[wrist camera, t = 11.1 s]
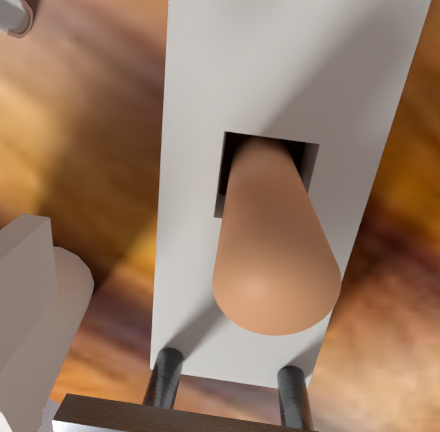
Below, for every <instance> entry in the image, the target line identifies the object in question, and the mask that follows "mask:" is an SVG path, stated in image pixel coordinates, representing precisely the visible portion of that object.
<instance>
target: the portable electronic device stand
mask: <svg viewBox="0 0 440 432" xmlns="http://www.w3.org/2000/svg"><path fill="white" fill-rule="evenodd" d="M32 23H33V11H32V9H31V8H30V6H29V5H28V4H27V2H26V1H25V0H0V31H2V32H3V33H5V34H7V35H10V36H12V37H15V38H23V37H25V36H26V35H27V34H28V32H29V31H30V29H31V26H32Z"/></svg>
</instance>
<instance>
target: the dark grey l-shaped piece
mask: <svg viewBox="0 0 440 432" xmlns="http://www.w3.org/2000/svg"><path fill="white" fill-rule="evenodd" d="M183 361H184V357H183V354H182V353H181V352H180V351H179V350H177V349H175V348H170V347H168V348H163V349H161V350H160V351H159V352H158V355H157V358H156V361H155V364H154V368H153V371H152V374H151V377H150V380H149V384H148V387H147V390H146V393H145V397H144V400H143V403H142V405H140V404H133V403H127V402H120V401H114V400H107V399H101V398H94V397H87V396H81V395H74V394H68V393H67V394H66V396H65V398H64V400H63V401H62V403H61V405H60V407H59V409H58V411H57V412H56V414H55V416H54V418H53V420H52V422H53V430H54V432H318V431H314V427H313V421H312V416H311V410H310V404H309V398H308V393H307V387H306V381H305V376H304V372H303V371H302V369H300V368H299V367H296V366H285V367H283V368H281V369H280V370H279V371H278V373H277V382H278V393H279V404H280V416H281V426H278V425H272V424H265V423H258V422H252V421H245V420H239V419H232V418H226V417H219V416H212V415H206V414H199V413H193V412H186V411H180V410H173V408H174V403H175V398H176V394H177V389H178V385H179V380H180V375H181V371H182V366H183Z"/></svg>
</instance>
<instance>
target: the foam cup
mask: <svg viewBox="0 0 440 432" xmlns="http://www.w3.org/2000/svg"><path fill="white" fill-rule="evenodd" d="M53 250H54V260H55V270H56V279H57V289H58V297H57V298H56V300H55V301H54V302H53V304H52V305H51V306H50V308H49V309H48V310H47V312H46V313H45V314H44V315H43V317H42V318H41V319H40V321H39V322H38V323H37V325H36V326H35V327H34V329H33V330H32V331H31V333H30V334H29V335H28V336H27V338H26V339H25V340H24V342H23V343H22V344H21V346H20V347H19V348H18V350H17V351H16V352H15V354H14V355H13V356H12V357H11V359H10V360H9V361H8V363H7V364H6V365H5V367H4V368H3V369H2V371H1V372H0V432H37V431H38V429H39V427H40V425H41V420H42V414H43V409H44V407H45V405H46V402H47V400H48V398H49V396H50V393H51V391H52V389H53V386H54V384H55V382H56V379H57V377H58V375H59V372H60V370H61V368H62V365H63V363H64V361H65V358H66V356H67V354H68V351H69V349H70V347H71V344H72V342H73V340H74V337H75V335H76V333H77V330H78V328H79V326H80V323H81V321H82V319H83V316H84V314H85V312H86V309H87V307H88V305H89V302H90V298H91V297H92V293H93V288H94V281H93V278H92V275H91V272H90V269H89V268H88V267H87V265H86V264H85V263H84V262H83V261H82V260H81V259H80V258H79V257H78V256H77V255H75V254H73V253H71V252H69V251H67V250H66V249H64V248H62V247H54V246H53Z"/></svg>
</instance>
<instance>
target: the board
mask: <svg viewBox="0 0 440 432" xmlns="http://www.w3.org/2000/svg"><path fill="white" fill-rule="evenodd" d="M430 3H431V0H169V5H168V25H167V45H166V64H165V84H164V104H163V123H162V143H161V163H160V182H159V202H158V222H157V241H156V261H155V281H154V300H153V320H152V340H151V359H150V369H152V370H153V368H154V364H155V361H156V358H157V355H158V352H159V351H160V350H161V349H163V348H168V347H170V348H175V349H177V350H179V351H180V352H181V353H182V354H183V357H184V361H183V366H182V371H181V374H185V375H192V376H199V377H205V378H212V379H219V380H225V381H232V382H239V383H245V384H252V385H259V386H265V387H272V388H278V382H277V373H278V371H279V370H280V369H281V368H283V367H285V366H296V367H299V368H300V369H302V371H303V372H304V376H305V381H306V387H307V389H308V386H309V383H310V380H311V376H312V373H313V370H314V367H315V364H316V361H317V358H318V354H319V351H320V348H321V345H322V342H323V339H324V336H325V332H326V329H327V326H328V323H329V320H330V317H331V314H332V310H333V309H332V310H331V311H330V313H329V314H328V315H327V316H326V317H325V318H324V319H323V320H321V321H320V322H319V323H317V324H316V325H314V326H312V327H311V328H308V329H306V330H304V331H301V332H298V333H294V334H289V335H281V336H271V335H263V334H258V333H254V332H251V331H248V330H246V329H244V328H242V327H240V326H238V325H237V324H235V323H234V322H233V321H231V320H230V319H229V318H228V317H227V316H226V315H225V314H224V313H223V312H222V310H221V309H220V307H219V306H218V304H217V302H216V299H215V297H214V293H213V286H212V280H213V272H214V266H215V260H216V254H217V248H218V242H219V236H220V230H221V223H222V217H223V211H224V205H225V199H226V195H222V194H219V189H220V181H221V173H222V165H223V158H224V150H225V142H226V134H227V132H234V133H242V134H249V135H256V136H264V137H271V138H278V139H286V140H293V141H300V142H306V144H305V148H304V152H303V157H302V161H301V166H300V170H299V176H300V178H301V180H302V183H303V185H304V187H305V190H306V192H307V194H308V197H309V199H310V201H311V203H312V206H313V208H314V210H315V213H316V215H317V217H318V220H319V222H320V224H321V227H322V229H323V231H324V234H325V236H326V238H327V241H328V243H329V245H330V248H331V250H332V252H333V254H334V257H335V259H336V261H337V264H338V266H339V269H340V273H341V282H342V279H343V276H344V273H345V270H346V267H347V263H348V260H349V257H350V254H351V251H352V248H353V245H354V241H355V238H356V235H357V232H358V229H359V226H360V223H361V220H362V216H363V213H364V210H365V207H366V204H367V201H368V198H369V194H370V191H371V188H372V185H373V182H374V179H375V176H376V172H377V169H378V166H379V163H380V160H381V157H382V154H383V150H384V147H385V144H386V141H387V138H388V135H389V132H390V129H391V125H392V122H393V119H394V116H395V113H396V110H397V107H398V103H399V100H400V97H401V94H402V91H403V88H404V85H405V81H406V78H407V75H408V72H409V69H410V66H411V63H412V60H413V56H414V53H415V50H416V47H417V44H418V41H419V38H420V34H421V31H422V28H423V25H424V22H425V19H426V16H427V12H428V9H429V6H430Z"/></svg>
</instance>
